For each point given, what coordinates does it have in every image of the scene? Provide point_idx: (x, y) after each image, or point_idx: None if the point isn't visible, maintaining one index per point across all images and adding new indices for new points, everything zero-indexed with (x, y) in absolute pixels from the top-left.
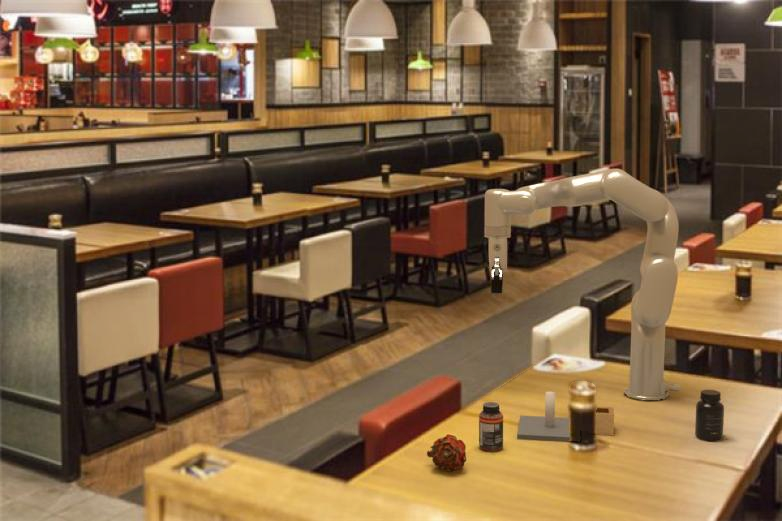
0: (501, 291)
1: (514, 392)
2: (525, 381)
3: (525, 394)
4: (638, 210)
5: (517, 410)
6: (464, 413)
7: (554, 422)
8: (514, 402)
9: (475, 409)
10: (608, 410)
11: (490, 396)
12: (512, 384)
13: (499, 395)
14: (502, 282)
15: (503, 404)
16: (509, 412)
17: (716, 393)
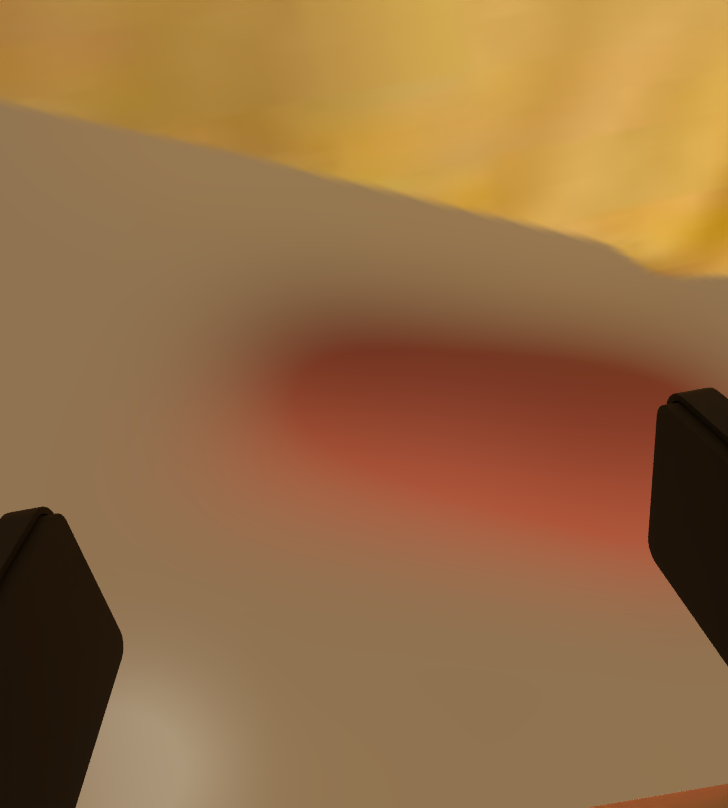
0: (721, 407)
1: (333, 79)
2: (83, 50)
3: (355, 4)
4: None
5: (660, 3)
6: (712, 256)
7: None
8: (519, 46)
9: (652, 222)
10: None
11: (436, 195)
12: (179, 120)
13: (409, 153)
14: (4, 563)
15: (562, 102)
16: (695, 43)
17: None
